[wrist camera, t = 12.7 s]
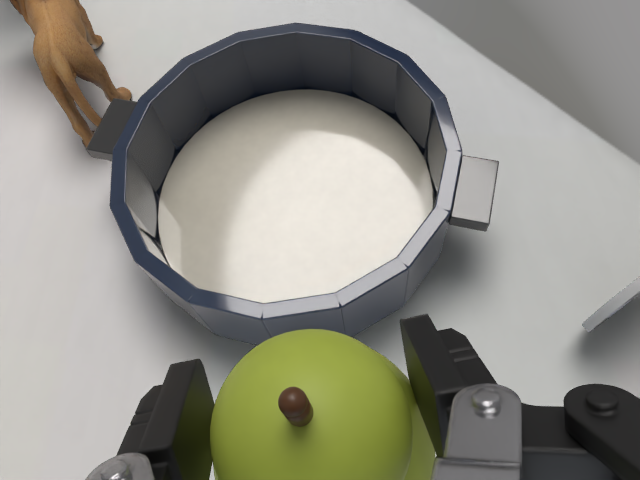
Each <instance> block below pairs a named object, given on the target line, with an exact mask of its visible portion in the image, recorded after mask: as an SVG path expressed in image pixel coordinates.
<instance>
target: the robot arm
mask: <svg viewBox="0 0 640 480" xmlns="http://www.w3.org/2000/svg"><path fill="white" fill-rule="evenodd" d="M400 326H401V333H402V339H403V346H404V352H405V358H406V365H407V371H408V376H409V381H410V385H411V387H412V390H413V393H414V396H415V399H416V403H417V405H418V408H419V410H420V413H421V416H422V418H423V421H424V423H425V426H426V429H427V431H428V434H429V436H430V439H431V442H432V444H433V447H434V449H435V452H436V455H437V456H436V457H435V460H434V463H433V468H432V473H431V478H430V480H640V399H639V398H637V397H636V396H634V395H633V394H631V393H629V392H627V391H625V390H623V389H621V388H618V387H615V386H610V385H603V384H588V385H582V386H579V387H576V388H574V389H572V390H570V391H569V392H568V393H567V394H566V396H565V397H564V407H551V406H533V405H528V404H524V403H521V400H520V398H519V396H518V395H517V394H516V393H515V392H514V391H512V390H511V389H509V388H507V387H504V386H501V385H498V384H497V383H496V381H495V380H494V378H493V377H492V375H491V374H490V372H489V371H488V369H487V368H486V366H485V365H484V363H483V362H482V360H481V359H480V358H479V357H478V354H477V353H476V351H475V350H474V349H473V347H472V345H471V344H470V342H469V341H468V339H467V338H466V336H465V335H463V334H461V333H459V332H457V331H456V330H454V329H452V328H449V329H444V330H439V331H437V330H436V328H435V326H434V324H433V323H432V321H431V319H430V317H429V316H428V314H425V315H420V316H415V317H410V318H405V319H400ZM214 405H215V404H214V401H213V397H212V394H211V390H210V387H209V383H208V380H207V376H206V373H205V369H204V366H203V364H202V361H201V360H200V359H195V360H190V361H185V362H180V363H175V364H171V365H170V367H169V370H168V373H167V375H166V378H165V380H164V383H163V385H158V386H154V387H153V388H152V389H151V390H150V391H149V392H148V393H147V394H146V395H145V396H144V397H143V398H142V399H141V400H140V403H139V405H138V407H137V410H136V412H135V415H134V416H133V419H132V421H131V426H129V428H128V430H127V432H126V435H125V437H124V439H123V442H122V444H121V446H120V448H119V451H118V453H117V455H116V456H115V457H113V458H111V459H109V460H107V461H105V462H103V463H102V464H101V465H99V466H98V467H96V468H95V469H94V470H93V471H92V472H91V473H90V474H89V475H88V477H87V478H86V480H209V477H210V472H211V466H212V456H211V448H210V425H211V418H212V413H213V409H214Z"/></svg>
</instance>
